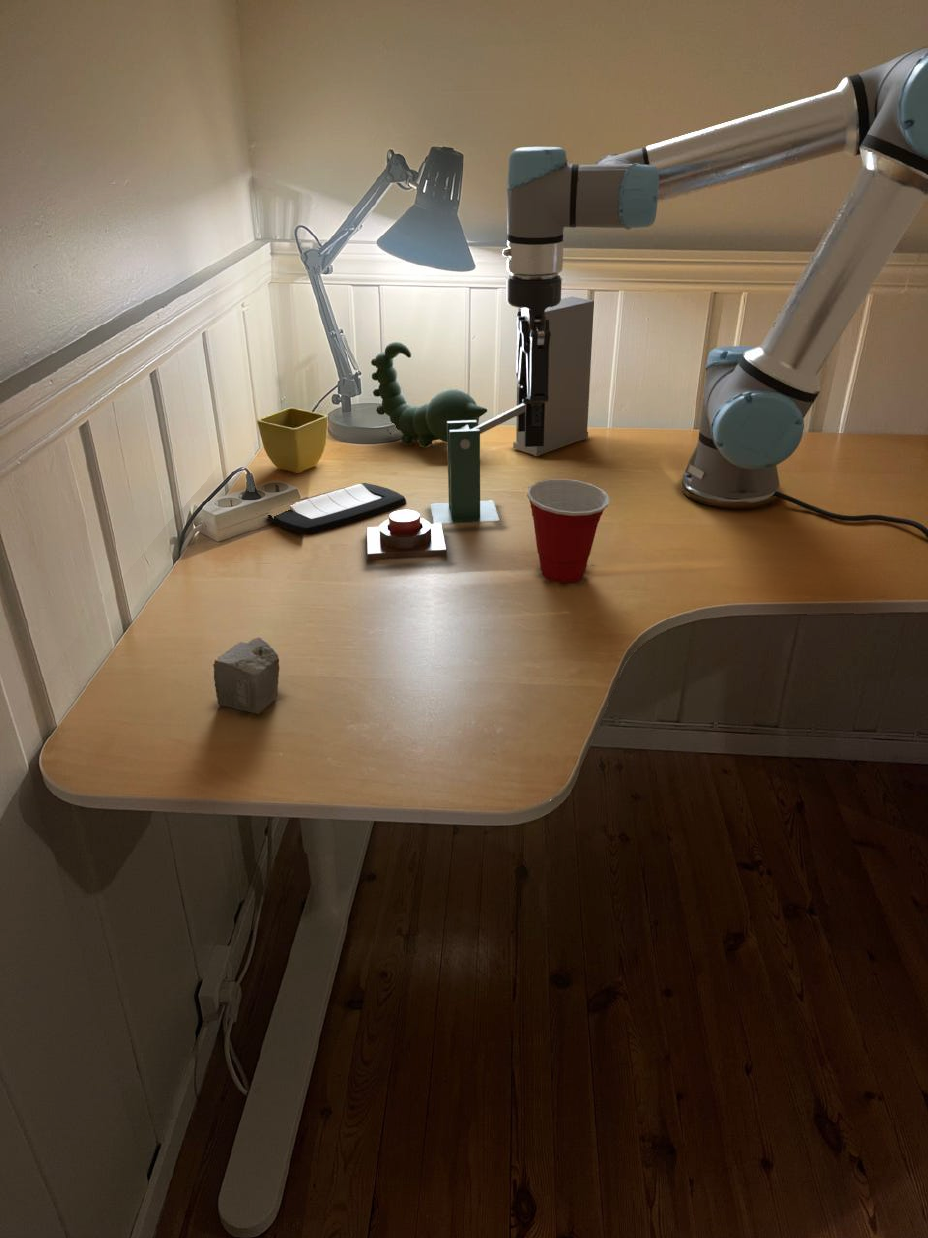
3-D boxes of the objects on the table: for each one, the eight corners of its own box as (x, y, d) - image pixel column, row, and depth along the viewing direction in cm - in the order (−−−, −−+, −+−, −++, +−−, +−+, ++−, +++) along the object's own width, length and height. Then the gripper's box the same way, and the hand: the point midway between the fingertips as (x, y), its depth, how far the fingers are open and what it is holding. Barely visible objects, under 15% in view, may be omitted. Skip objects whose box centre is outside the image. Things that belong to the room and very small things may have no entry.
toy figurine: (369, 447, 178) (474, 464, 163) (356, 345, 169) (465, 353, 155) (402, 434, 184) (506, 449, 170) (391, 335, 176) (498, 341, 161)
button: (419, 521, 135) (419, 508, 134) (421, 534, 131) (421, 521, 130) (389, 523, 135) (388, 510, 134) (390, 536, 131) (389, 522, 130)
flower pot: (333, 464, 166) (328, 414, 161) (300, 480, 160) (294, 428, 155) (295, 455, 170) (290, 406, 166) (261, 470, 164) (255, 420, 159)
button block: (441, 536, 139) (441, 511, 137) (447, 563, 131) (446, 537, 129) (367, 540, 138) (365, 515, 136) (368, 568, 131) (366, 542, 129)
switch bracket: (493, 507, 149) (493, 415, 141) (500, 527, 142) (500, 433, 134) (430, 510, 148) (427, 418, 140) (433, 531, 141) (430, 436, 133)
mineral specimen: (197, 718, 99) (194, 646, 97) (247, 691, 107) (244, 623, 104) (256, 732, 96) (254, 658, 94) (302, 703, 104) (301, 634, 102)
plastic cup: (594, 598, 122) (599, 513, 116) (514, 585, 125) (516, 502, 119) (612, 563, 131) (618, 482, 125) (537, 552, 134) (540, 472, 128)
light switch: (364, 474, 156) (413, 490, 146) (366, 491, 158) (415, 508, 148) (257, 504, 146) (302, 525, 136) (260, 522, 147) (305, 543, 137)
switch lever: (535, 402, 140) (528, 388, 139) (541, 415, 135) (535, 400, 133) (456, 441, 142) (449, 428, 140) (460, 455, 136) (453, 441, 135)
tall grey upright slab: (563, 431, 180) (568, 295, 167) (587, 439, 176) (595, 300, 163) (512, 449, 172) (513, 307, 159) (536, 457, 168) (540, 313, 155)
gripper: (497, 262, 136) (496, 418, 147) (517, 288, 119) (514, 461, 131) (549, 261, 136) (544, 416, 148) (575, 286, 120) (567, 459, 131)
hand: (530, 437), depth 139 cm, fingers closed on switch lever, 6 cm apart
